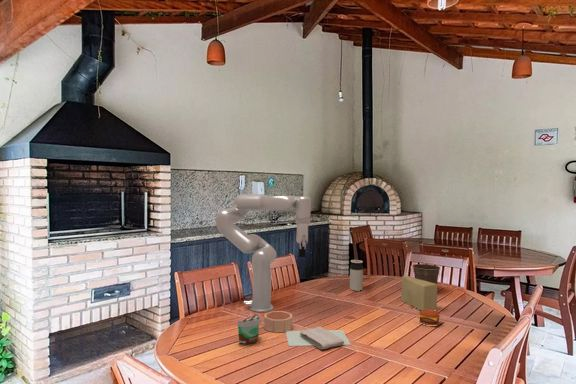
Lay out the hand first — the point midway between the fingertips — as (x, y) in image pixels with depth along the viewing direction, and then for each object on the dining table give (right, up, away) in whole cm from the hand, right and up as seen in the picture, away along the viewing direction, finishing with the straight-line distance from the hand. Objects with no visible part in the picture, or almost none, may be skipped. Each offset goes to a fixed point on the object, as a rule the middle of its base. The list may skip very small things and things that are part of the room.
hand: (302, 256), depth 203 cm
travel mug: (+35, -29, +47) cm, 66 cm away
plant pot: (+78, -29, +44) cm, 94 cm away
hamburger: (+61, -31, -11) cm, 69 cm away
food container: (-22, -30, -36) cm, 52 cm away
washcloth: (+7, -30, -34) cm, 46 cm away
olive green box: (+63, -30, +16) cm, 71 cm away
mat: (+5, -30, -31) cm, 43 cm away
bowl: (-12, -30, -19) cm, 37 cm away
